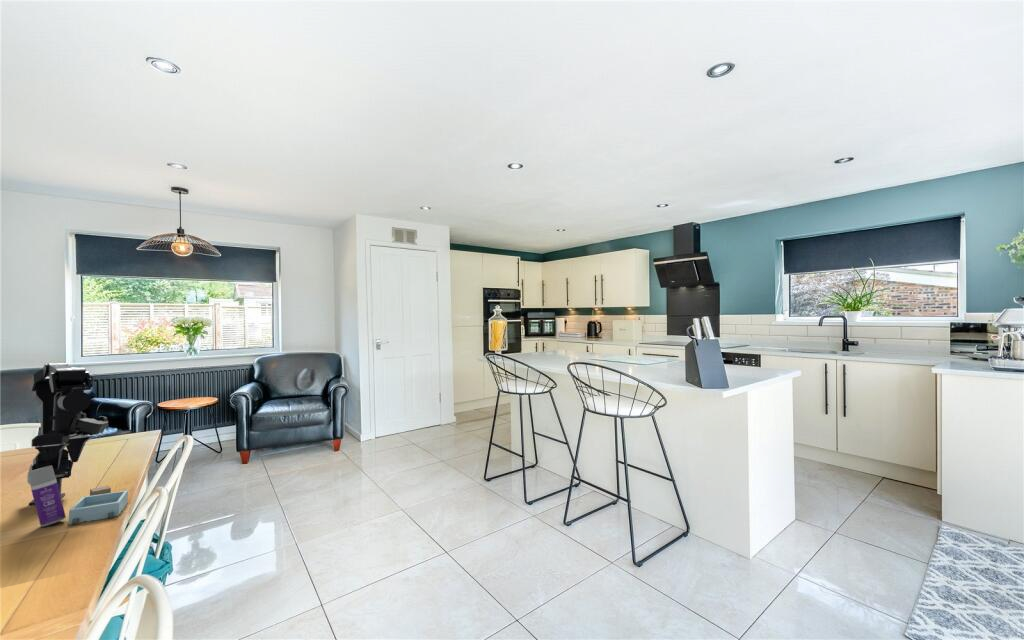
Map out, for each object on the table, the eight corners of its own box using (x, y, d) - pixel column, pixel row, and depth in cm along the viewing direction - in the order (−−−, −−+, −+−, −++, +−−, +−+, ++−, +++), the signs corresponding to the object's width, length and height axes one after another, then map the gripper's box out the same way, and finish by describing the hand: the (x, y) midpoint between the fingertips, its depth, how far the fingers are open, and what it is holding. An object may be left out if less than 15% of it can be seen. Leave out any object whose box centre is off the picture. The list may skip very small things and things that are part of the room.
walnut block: (89, 502, 129) (90, 489, 129) (107, 498, 132) (107, 485, 132) (92, 504, 126) (92, 491, 126) (110, 500, 129) (110, 487, 130)
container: (48, 525, 110) (35, 470, 110) (35, 527, 111) (22, 473, 110) (70, 516, 114) (57, 463, 114) (57, 518, 115) (44, 466, 115)
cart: (83, 508, 123) (83, 495, 123) (128, 501, 129) (128, 489, 129) (66, 526, 111) (67, 512, 111) (117, 517, 116) (118, 503, 117)
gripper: (85, 411, 116) (83, 469, 114) (119, 405, 133) (117, 455, 132) (31, 415, 111) (28, 475, 110) (73, 408, 129) (70, 460, 127)
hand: (65, 465), depth 120 cm, fingers open, 9 cm apart
